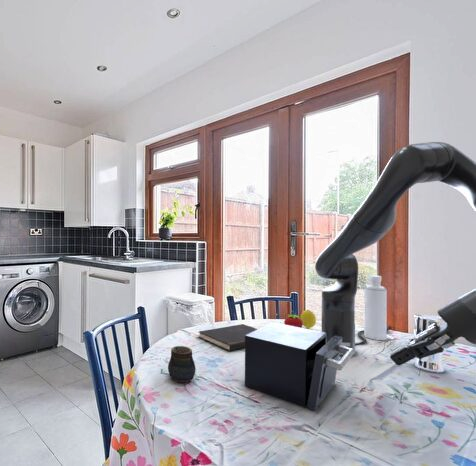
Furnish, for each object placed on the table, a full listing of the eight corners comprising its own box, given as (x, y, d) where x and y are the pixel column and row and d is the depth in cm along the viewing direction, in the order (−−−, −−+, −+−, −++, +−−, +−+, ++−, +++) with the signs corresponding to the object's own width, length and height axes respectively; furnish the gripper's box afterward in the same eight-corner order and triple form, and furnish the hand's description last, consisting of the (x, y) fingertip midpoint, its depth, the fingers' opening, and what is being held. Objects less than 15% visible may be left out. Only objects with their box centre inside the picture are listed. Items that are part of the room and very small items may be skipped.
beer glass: (406, 363, 96) (406, 314, 96) (427, 363, 96) (427, 313, 96) (430, 373, 89) (430, 320, 89) (453, 373, 89) (453, 320, 89)
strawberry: (306, 337, 120) (306, 311, 120) (295, 340, 115) (295, 313, 116) (291, 333, 125) (291, 307, 125) (280, 336, 120) (280, 310, 120)
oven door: (349, 390, 80) (357, 342, 79) (331, 419, 67) (341, 362, 66) (327, 381, 83) (335, 335, 82) (306, 407, 70) (315, 353, 69)
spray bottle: (368, 339, 118) (369, 272, 118) (361, 333, 124) (361, 270, 124) (390, 341, 116) (390, 273, 116) (381, 335, 122) (381, 271, 122)
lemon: (318, 331, 127) (318, 311, 127) (303, 330, 128) (303, 310, 128) (312, 327, 133) (312, 308, 133) (298, 326, 134) (298, 307, 134)
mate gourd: (197, 375, 86) (197, 339, 86) (193, 388, 79) (193, 348, 79) (170, 371, 89) (171, 336, 89) (165, 383, 82) (165, 345, 82)
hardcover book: (198, 337, 118) (198, 331, 118) (242, 329, 129) (242, 324, 129) (229, 351, 104) (230, 344, 104) (277, 341, 114) (277, 335, 114)
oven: (326, 381, 83) (326, 332, 83) (305, 408, 71) (305, 350, 71) (271, 365, 93) (271, 321, 93) (244, 386, 80) (245, 335, 81)
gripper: (459, 292, 65) (382, 338, 73) (461, 302, 55) (373, 352, 64) (498, 323, 61) (412, 367, 70) (508, 339, 52) (408, 388, 60)
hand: (394, 360), depth 67 cm, fingers closed
